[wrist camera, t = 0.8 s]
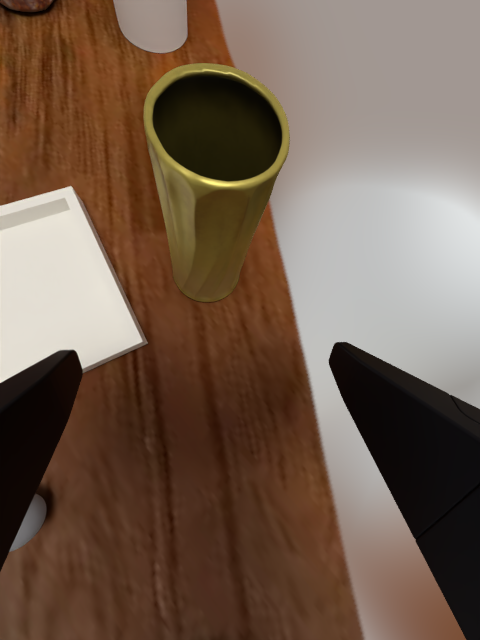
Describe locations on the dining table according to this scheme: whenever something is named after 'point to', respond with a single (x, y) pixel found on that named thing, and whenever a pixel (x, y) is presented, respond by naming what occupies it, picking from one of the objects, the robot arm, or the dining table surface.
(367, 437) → the robot arm
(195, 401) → the dining table surface
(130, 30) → the cylindrical container
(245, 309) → the dining table surface
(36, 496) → the mixing ball
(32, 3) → the sauce bottle
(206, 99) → the vase
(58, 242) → the tray
